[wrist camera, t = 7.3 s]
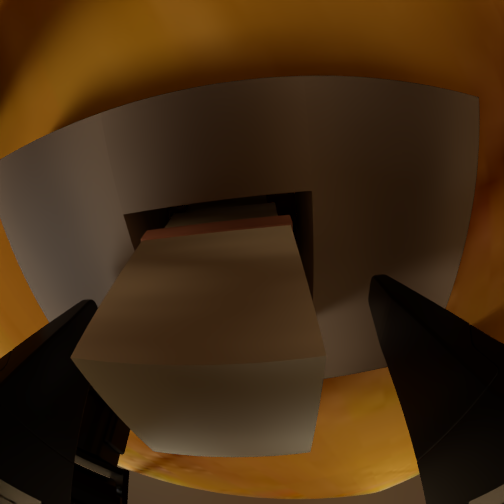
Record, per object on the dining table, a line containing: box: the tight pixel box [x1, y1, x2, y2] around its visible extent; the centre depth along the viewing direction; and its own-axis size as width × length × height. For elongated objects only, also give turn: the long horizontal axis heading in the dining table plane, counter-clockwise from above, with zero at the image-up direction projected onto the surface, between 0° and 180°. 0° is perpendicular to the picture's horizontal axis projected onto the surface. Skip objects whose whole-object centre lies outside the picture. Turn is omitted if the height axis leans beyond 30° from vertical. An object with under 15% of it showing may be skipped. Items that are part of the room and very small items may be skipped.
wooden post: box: [70, 195, 326, 457], centre depth 9 cm, size 4×4×9 cm
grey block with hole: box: [0, 76, 479, 379], centre depth 11 cm, size 18×12×4 cm, turn 97°
